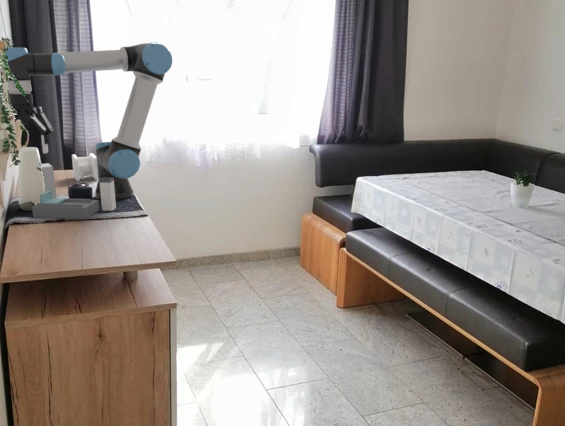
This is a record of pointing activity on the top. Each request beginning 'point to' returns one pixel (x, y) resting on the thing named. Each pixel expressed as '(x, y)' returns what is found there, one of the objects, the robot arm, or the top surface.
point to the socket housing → (67, 209)
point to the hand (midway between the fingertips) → (27, 152)
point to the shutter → (49, 198)
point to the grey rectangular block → (107, 193)
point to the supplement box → (49, 178)
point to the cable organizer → (85, 166)
